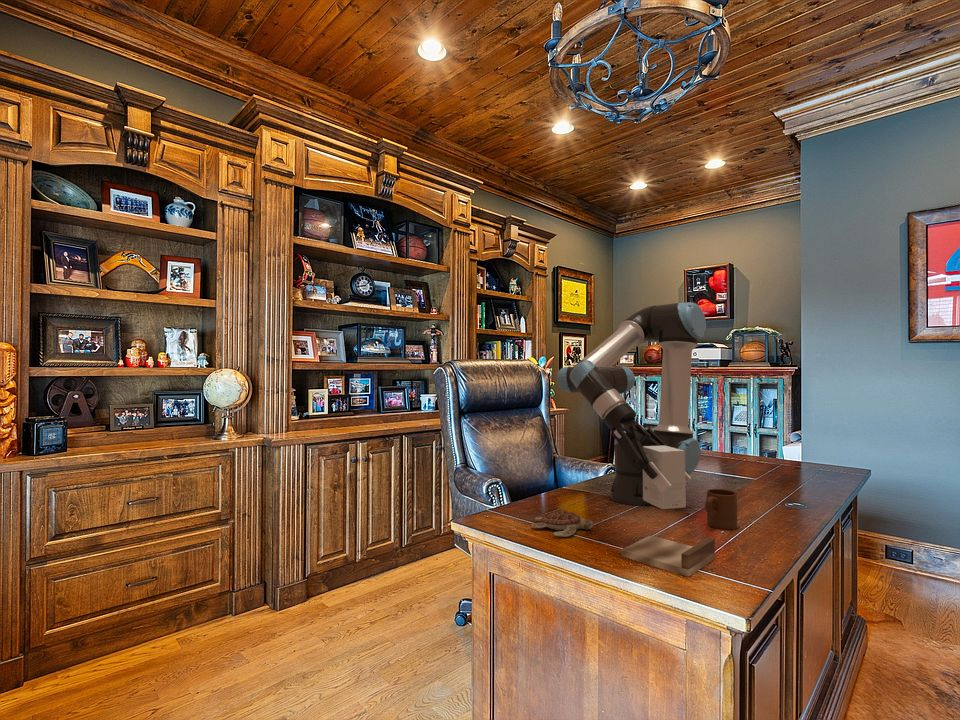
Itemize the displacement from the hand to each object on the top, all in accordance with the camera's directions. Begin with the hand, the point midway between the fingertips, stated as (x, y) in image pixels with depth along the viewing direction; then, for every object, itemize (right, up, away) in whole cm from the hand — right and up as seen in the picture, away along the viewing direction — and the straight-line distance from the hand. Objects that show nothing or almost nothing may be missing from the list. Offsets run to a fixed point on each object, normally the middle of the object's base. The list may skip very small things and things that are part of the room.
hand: (677, 485), depth 114 cm
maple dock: (-1, -17, +2) cm, 17 cm away
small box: (-2, -5, +2) cm, 6 cm away
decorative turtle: (-22, -18, +24) cm, 37 cm away
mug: (+20, -17, +23) cm, 35 cm away
